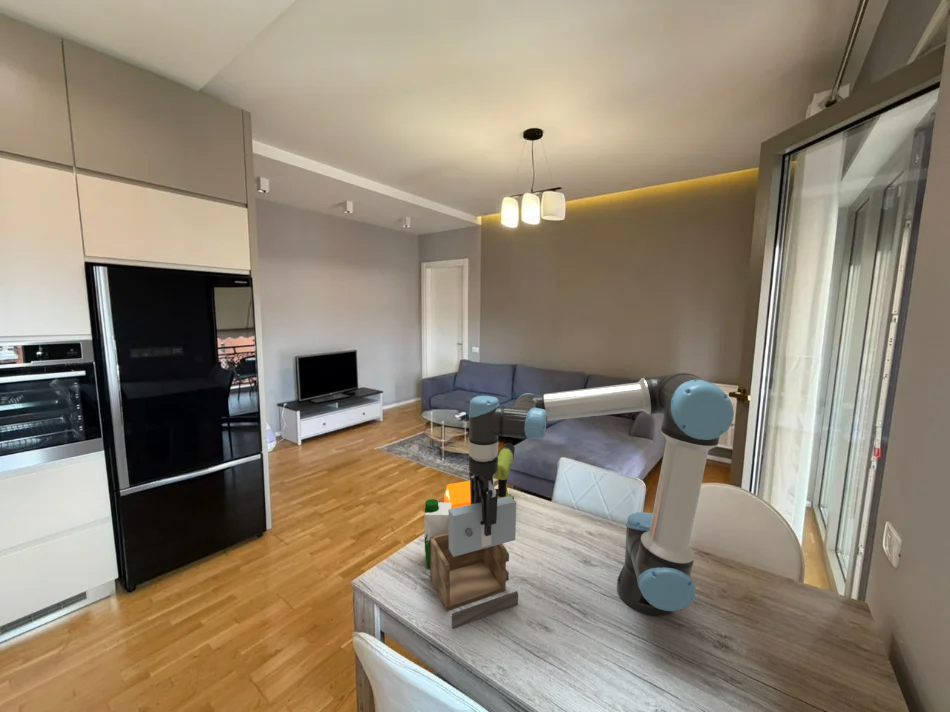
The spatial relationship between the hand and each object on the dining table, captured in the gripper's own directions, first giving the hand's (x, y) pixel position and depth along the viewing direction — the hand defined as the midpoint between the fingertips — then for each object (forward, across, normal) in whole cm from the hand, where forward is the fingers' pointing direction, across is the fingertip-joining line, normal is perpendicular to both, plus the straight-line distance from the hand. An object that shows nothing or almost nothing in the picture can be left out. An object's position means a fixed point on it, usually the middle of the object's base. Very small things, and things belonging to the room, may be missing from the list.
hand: (482, 540), depth 103 cm
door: (+1, 0, 0) cm, 1 cm away
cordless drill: (+19, +42, -30) cm, 55 cm away
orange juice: (+19, +32, -6) cm, 38 cm away
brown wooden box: (+19, +6, 0) cm, 20 cm away
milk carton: (+19, +22, +5) cm, 30 cm away
